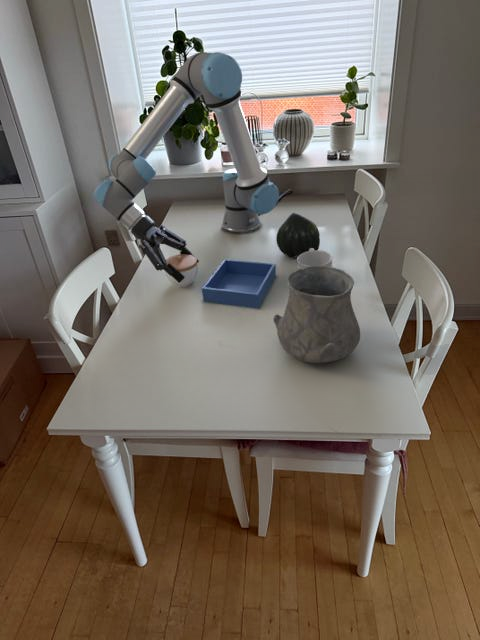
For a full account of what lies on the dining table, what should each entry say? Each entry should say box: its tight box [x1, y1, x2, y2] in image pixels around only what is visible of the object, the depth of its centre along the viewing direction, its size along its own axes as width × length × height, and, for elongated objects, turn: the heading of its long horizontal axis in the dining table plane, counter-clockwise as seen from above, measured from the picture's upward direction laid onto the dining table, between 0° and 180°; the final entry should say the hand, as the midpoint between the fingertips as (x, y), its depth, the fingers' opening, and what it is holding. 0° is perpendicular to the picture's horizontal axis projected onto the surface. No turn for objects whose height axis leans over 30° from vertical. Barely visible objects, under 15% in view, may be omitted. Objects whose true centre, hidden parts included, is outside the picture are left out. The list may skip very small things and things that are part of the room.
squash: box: [275, 212, 321, 259], centre depth 157 cm, size 14×15×15 cm
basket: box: [201, 258, 277, 310], centre depth 141 cm, size 20×18×5 cm
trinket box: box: [164, 253, 198, 288], centre depth 146 cm, size 11×11×9 cm
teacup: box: [296, 248, 333, 270], centre depth 143 cm, size 14×11×8 cm
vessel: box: [273, 266, 361, 364], centre depth 110 cm, size 22×22×20 cm
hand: (189, 271), depth 145 cm, fingers closed on trinket box, 11 cm apart
